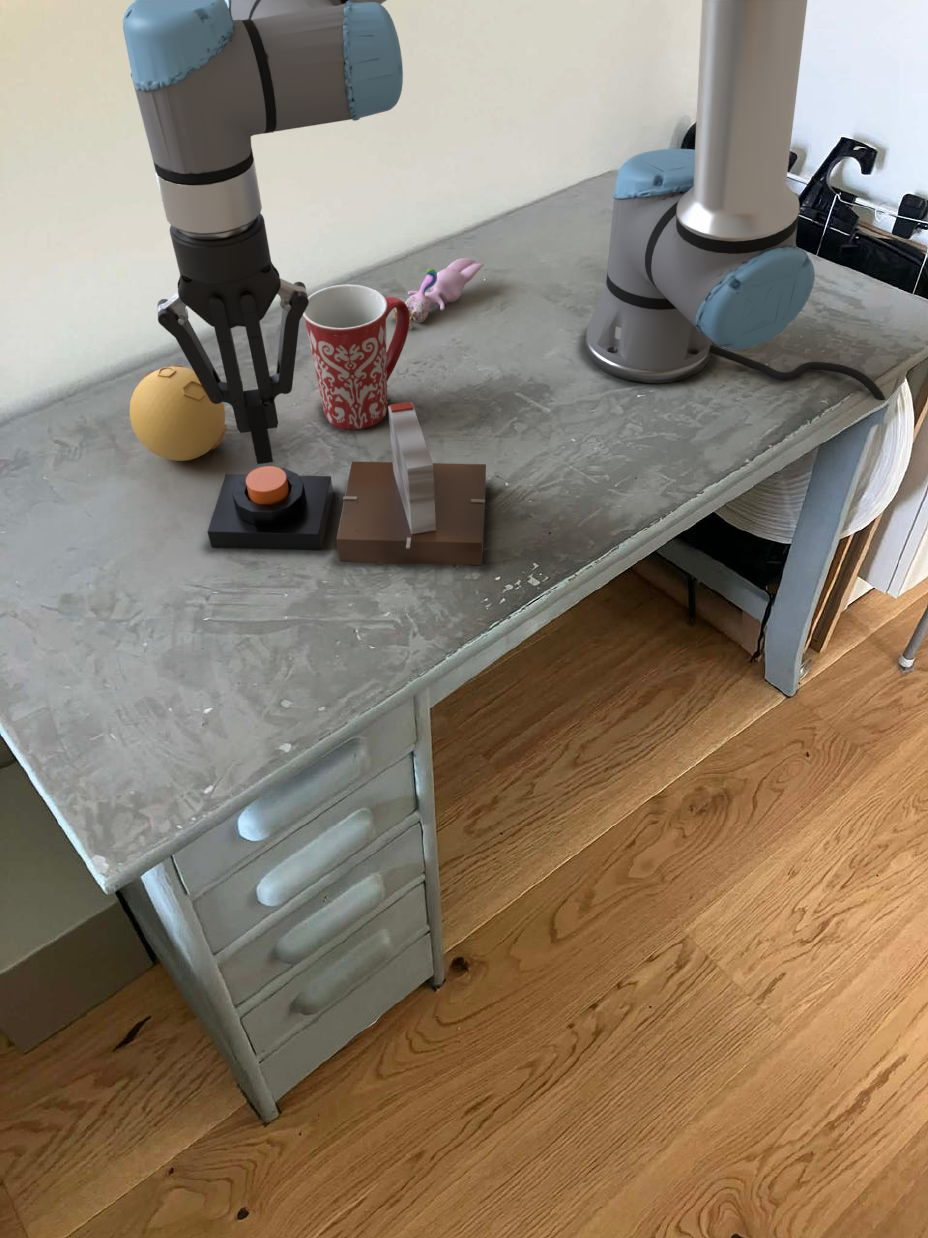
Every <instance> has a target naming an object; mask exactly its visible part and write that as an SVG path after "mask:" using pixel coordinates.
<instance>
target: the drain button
mask: <svg viewBox="0 0 928 1238" xmlns="http://www.w3.org/2000/svg"><path fill="white" fill-rule="evenodd" d="M280 468H281V467H277V466H273V465H264V466H259V467H257V468H254V469H252V470H251V471H250V473H249V472H248V473H249V474H248V476H247V477H246V485H247V490H248V495H249V498H250V499H251V500H252V501H253V502H254V503H257V504H273V503H276V502H279V501H282V500H283V499H284V498H286V497H287V495H288V493H289V488H288V482H287V476H286V473H285V472H284V471H283V470H282V469H280Z"/></svg>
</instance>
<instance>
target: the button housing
mask: <svg viewBox="0 0 928 1238" xmlns="http://www.w3.org/2000/svg"><path fill="white" fill-rule="evenodd" d="M279 468H280V469H282V470H283V471H284V472H285V473H286V476H287V482H288V488H289V493H288V495H287V497H286V498H284V499H283V500H282V501H279V502H276V503H273V504H257V503H254V502H253V501H252V500H251V499H250V498H249V495H248V490H247V485H246V477H247V476H248V474H249V473H250V472H251V471H250V472H248V473H246V474H245V473H243V474H242V473H241V474H240V473H226V474H225V477H224V480H223V483H222V485H221V489H220V491H219V494H218V498H217V500H216V504H215V507H214V511H213V514H212V517H211V519H210V522H209V526H208V529H207V536H208V539H209V543H210V547H211V549H245V550H246V549H248V550H281V551H282V550H286V551H287V550H288V551H322V548H323V543H324V538H325V534H326V530H327V529H326V528H327V523H328V519H329V514H330V511H331V504H332V500H333V495H334V488H333V482H332V476H330V475H299V474H297V473H296V472H294V471H291V470H289V469H286V468H284V467H279Z"/></svg>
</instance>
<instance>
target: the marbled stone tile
mask: <svg viewBox="0 0 928 1238" xmlns="http://www.w3.org/2000/svg"><path fill="white" fill-rule="evenodd" d="M387 411H388V422H389V423H388V424H389V432H390V433H389V435H390V447H391V449H390V450H391V460H392V461H391V462H393V472H394V475H395V479H396V482H397V486H398V489H399V493H400V496H401V499H402V503H403V506H404V510H405V513H406V517H407V520H408V524H409V527H410V530H411V534H417V533H423V532H429V531H435V530H436V521H435V496H434V471H433V463H434V462H433V460H432V457H431V454H430V451H429V448H428V444H427V442H426V439H425V436H424V433H423V430H422V427H421V424H420V421H419V418H418V415H417V412H416V408H415V406H414V404H413V402H412V401H407V402H400V403H392V404H389V405H387Z"/></svg>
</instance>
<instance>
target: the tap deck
mask: <svg viewBox="0 0 928 1238" xmlns="http://www.w3.org/2000/svg"><path fill="white" fill-rule="evenodd" d="M432 463H433V471H434V496H435V521H436V530H435V531H429V532H423V533H417V534H411V530H410V527H409V524H408V520H407V517H406V513H405V510H404V506H403V503H402V499H401V496H400V493H399V489H398V486H397V482H396V479H395V475H394V472H393V462H392V461H391V462H390V461H351V462H350V467H349V472H348V476H347V482H346V488H345V494H344V495H343V496H342V500H343V503H342V509H341V513H340V518H339V524H338V528H337V534H336V546H337V547H336V548H337V552H338V554H337V555H338V561H339V562H347V563H348V562H349V563H386V564H387V563H388V564H389V563H391V564H397V563H398V564H425V565H426V564H428V565H429V564H430V565H431V564H433V565H467V566H482V565H483V553H484V552H483V550H484V533H485V532H484V530H485V509H486V489H487V464H486V463H482V464H481V463H448V462H447V463H444V462H443V463H441V462H432Z"/></svg>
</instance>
